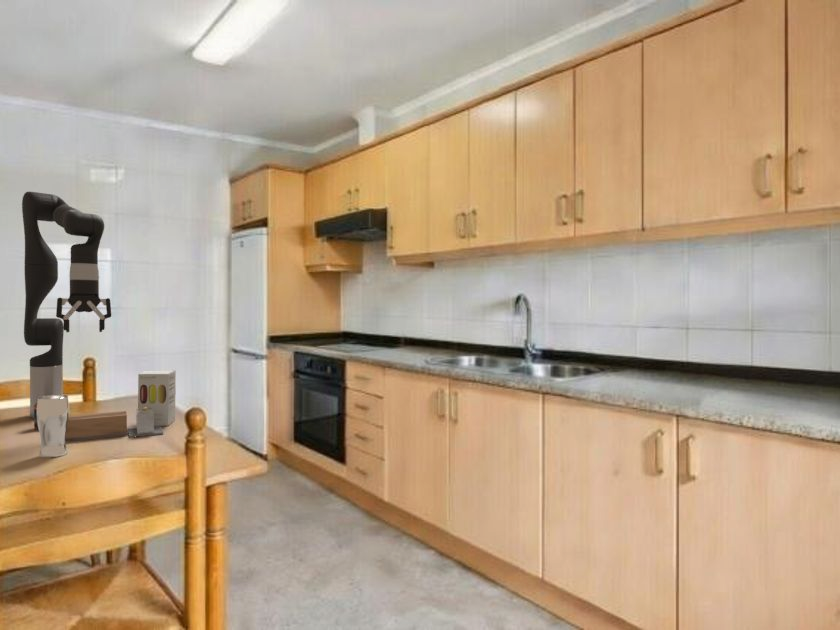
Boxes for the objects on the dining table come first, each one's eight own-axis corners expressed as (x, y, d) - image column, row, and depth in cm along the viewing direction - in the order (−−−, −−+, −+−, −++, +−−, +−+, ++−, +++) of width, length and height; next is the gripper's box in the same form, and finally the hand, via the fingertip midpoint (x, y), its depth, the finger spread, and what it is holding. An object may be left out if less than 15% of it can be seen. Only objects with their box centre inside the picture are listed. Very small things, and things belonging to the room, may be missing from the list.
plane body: (54, 437, 157) (54, 416, 157) (126, 430, 166) (126, 410, 166) (52, 442, 150) (52, 421, 150) (127, 435, 160) (127, 415, 159)
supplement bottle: (57, 427, 169) (57, 396, 168) (40, 430, 164) (40, 399, 164) (47, 425, 171) (47, 395, 170) (30, 428, 166) (30, 397, 166)
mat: (128, 430, 166) (128, 428, 166) (160, 427, 170) (160, 425, 170) (129, 437, 157) (129, 435, 157) (163, 434, 161) (163, 432, 161)
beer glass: (44, 460, 135) (44, 400, 134) (31, 455, 138) (31, 397, 138) (74, 453, 141) (74, 396, 140) (61, 449, 144) (61, 393, 144)
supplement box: (136, 426, 170) (136, 373, 170) (145, 420, 179) (145, 369, 179) (169, 425, 172) (169, 373, 172) (176, 419, 181) (176, 369, 181)
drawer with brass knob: (137, 434, 159) (137, 411, 159) (136, 428, 166) (136, 406, 166) (154, 432, 161) (154, 409, 161) (152, 426, 168) (152, 405, 168)
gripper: (55, 277, 158) (55, 333, 158) (111, 279, 165) (111, 332, 165) (57, 278, 164) (57, 331, 165) (111, 279, 171) (111, 330, 172)
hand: (84, 332), depth 165 cm, fingers open, 8 cm apart
